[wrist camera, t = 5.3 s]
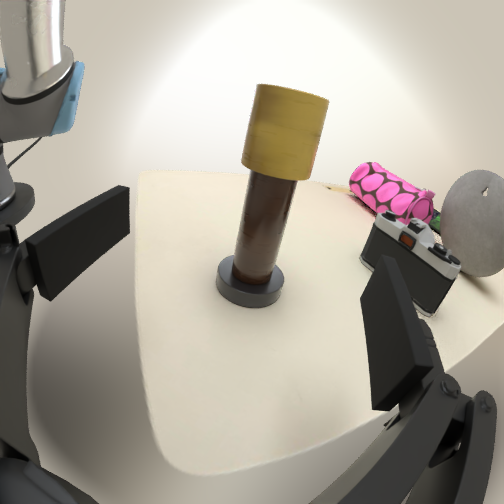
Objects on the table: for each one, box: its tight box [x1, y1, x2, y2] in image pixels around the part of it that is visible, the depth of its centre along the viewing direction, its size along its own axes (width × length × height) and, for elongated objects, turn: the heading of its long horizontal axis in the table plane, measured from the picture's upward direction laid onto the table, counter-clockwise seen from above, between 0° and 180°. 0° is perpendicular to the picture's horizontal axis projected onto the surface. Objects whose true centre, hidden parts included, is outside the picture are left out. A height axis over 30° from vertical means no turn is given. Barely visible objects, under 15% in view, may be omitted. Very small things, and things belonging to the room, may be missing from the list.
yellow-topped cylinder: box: [216, 84, 329, 308], centre depth 21 cm, size 6×6×17 cm
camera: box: [360, 210, 461, 317], centre depth 30 cm, size 13×8×9 cm, turn 33°
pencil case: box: [349, 162, 439, 225], centre depth 51 cm, size 21×10×10 cm, turn 16°
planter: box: [440, 170, 504, 277], centre depth 35 cm, size 18×7×19 cm, turn 14°
